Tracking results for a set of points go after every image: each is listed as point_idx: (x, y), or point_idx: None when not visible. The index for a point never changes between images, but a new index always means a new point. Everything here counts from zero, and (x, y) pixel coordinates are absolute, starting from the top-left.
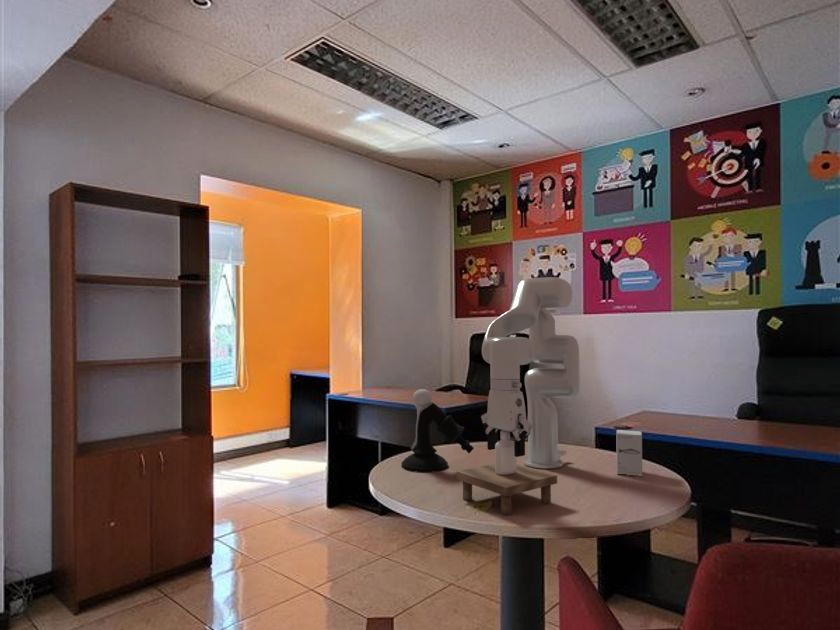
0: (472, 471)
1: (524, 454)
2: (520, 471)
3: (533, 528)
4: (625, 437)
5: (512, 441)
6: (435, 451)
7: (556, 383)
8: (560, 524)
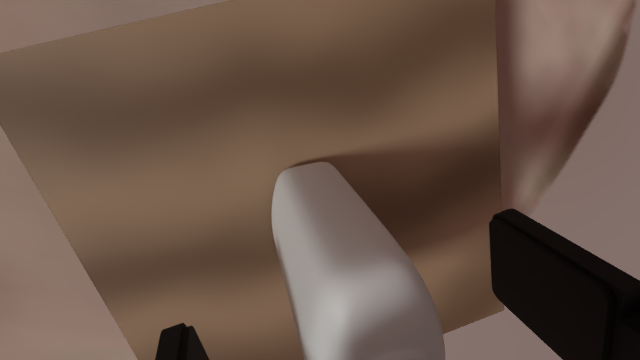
0: None
1: (513, 214)
2: (311, 120)
3: (531, 209)
4: None
5: (427, 318)
6: None
7: None
8: (555, 117)
